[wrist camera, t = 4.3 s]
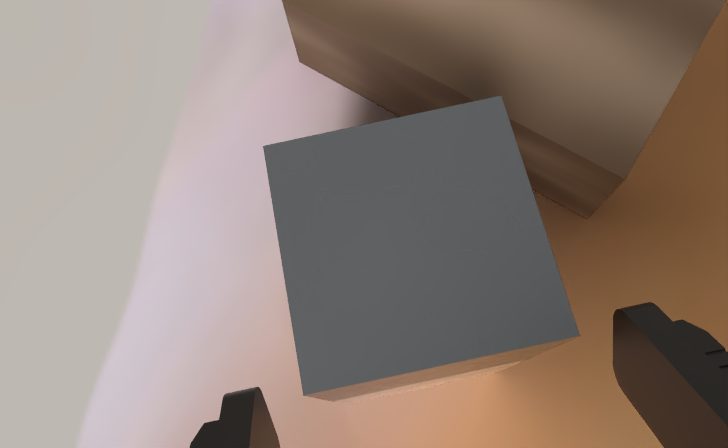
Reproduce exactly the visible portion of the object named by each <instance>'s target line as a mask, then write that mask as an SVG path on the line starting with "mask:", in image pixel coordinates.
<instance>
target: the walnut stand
mask: <svg viewBox="0 0 728 448" xmlns="http://www.w3.org/2000/svg"><path fill="white" fill-rule="evenodd" d="M725 1H726V0H282V2H283V6H284V9H285V13H286V16H287V20H288V23H289V27H290V30H291V34H292V37H293V41H294V44H295V48H296V51H297V55H298V58H299V62H301V63H303V64H305V65H306V66H308V67H310V68H312V69H314V70H316V71H317V72H319V73H321V74H323V75H325V76H327V77H328V78H330V79H332V80H334V81H336V82H337V83H339V84H341V85H343V86H345V87H347V88H348V89H350V90H352V91H354V92H356V93H358V94H359V95H361V96H363V97H365V98H367V99H369V100H370V101H372V102H374V103H376V104H378V105H379V106H381V107H383V108H385V109H387V110H389V111H390V112H392V113H394V114H396V115H398V116H400V117H403V116H407V115H412V114H417V113H422V112H426V111H431V110H436V109H441V108H445V107H450V106H455V105H459V104H464V103H469V102H474V101H478V100H483V99H488V98H492V97H497V96H501V97H502V100H503V103H504V106H505V109H506V112H507V115H508V118H509V121H510V124H511V127H512V130H513V133H514V136H515V139H516V142H517V145H518V148H519V151H520V155H521V158H522V161H523V164H524V167H525V170H526V173H527V176H528V179H529V182H530V185H531V188H532V189H533V190H535V191H537V192H538V193H540V194H542V195H544V196H546V197H547V198H549V199H551V200H553V201H555V202H557V203H558V204H560V205H562V206H564V207H566V208H568V209H569V210H571V211H573V212H575V213H577V214H578V215H580V216H582V217H584V218H586V219H587V218H588V217H589V216H590V215H591V214H592V213H593V212H594V211H595V210H596V209H597V208H598V207H599V206H600V205H601V204H602V203H603V202H604V201H605V200H606V199H607V198H608V196H609V195H610V194H611V193H612V192H613V191H614V190H615V189H616V188H617V187H618V186H619V185H620V184H621V183H622V182H623V181H624V180H625V178H626V177H627V175H628V173H629V171H630V169H631V168H632V166H633V164H634V162H635V161H636V159H637V157H638V155H639V154H640V152H641V150H642V148H643V146H644V145H645V143H646V141H647V139H648V138H649V136H650V134H651V132H652V131H653V129H654V127H655V125H656V123H657V122H658V120H659V118H660V116H661V115H662V113H663V111H664V109H665V108H666V106H667V104H668V102H669V100H670V99H671V97H672V95H673V93H674V92H675V90H676V88H677V86H678V85H679V83H680V81H681V79H682V77H683V76H684V74H685V72H686V70H687V69H688V67H689V65H690V63H691V61H692V60H693V58H694V56H695V54H696V53H697V51H698V49H699V47H700V46H701V44H702V42H703V40H704V38H705V37H706V35H707V33H708V31H709V30H710V28H711V26H712V24H713V23H714V21H715V19H716V17H717V15H718V14H719V12H720V10H721V8H722V7H723V5H724V3H725Z"/></svg>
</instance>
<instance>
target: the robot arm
mask: <svg viewBox="0 0 728 448" xmlns="http://www.w3.org/2000/svg"><path fill="white" fill-rule="evenodd" d="M613 368H614V372H615V376H616V379H617V381H618V383H619V386H620V387H621V389H622V391H623V392H624V394H625V395H626V396H627V398H628V399H629V400H630V402H631V403H632V405H633V406H634V407H635V409H636V410H637V411H638V413H639V414H640V415H641V417H642V418H643V419H644V421H645V422H646V424H647V425H648V426H649V428H650V429H651V430H652V432H653V433H654V434H655V436H656V437H657V438H658V440H659V441H660V442H661V444H662V445H663V447H664V448H728V352H726V350H725V348H724V347H723V346H722V345H721V344H720V343H719V342H718V341H717V340H716V339H714V338H713V337H712V336H711V335H710V334H709V333H708V332H707V331H705V330H703V329H701V328H699V327H696V326H694V325H692V324H690V323H688V322H686V321H684V320H678V321H674V322H673V321H672V320H671V319H670V318H669V317H668V316H667V315H666V314H665V313H664V312H663V311H662V310H661V309H660V308H658V307H657V306H656V305H655V304H654V303H651V302H648V303H644V304H639V305H635V306H630V307H626V308H621V309H617V310H616V311H615V312H614V316H613ZM190 448H280V445H279V440H278V436H277V433H276V431H275V428H274V425H273V422H272V419H271V416H270V414H269V411H268V408H267V405H266V402H265V400H264V397H263V394H262V392H261V390H260V388H259V387H255V388H250V389H246V390H241V391H236V392H232V393H227V394H225V395H224V397H223V401H222V407H221V412H220V418H219V420H217V421H212V422H207V423H204V424H203V426H202V427H201V429H200V430H199V432H198V433H197V435H196V436H195V438H194V439H193V441H192V442H191V444H190Z"/></svg>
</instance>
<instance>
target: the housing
mask: <svg viewBox="0 0 728 448" xmlns="http://www.w3.org/2000/svg"><path fill="white" fill-rule="evenodd" d="M263 148H264V154H265V160H266V167H267V173H268V179H269V185H270V191H271V198H272V204H273V210H274V216H275V222H276V229H277V235H278V241H279V247H280V253H281V259H282V266H283V272H284V278H285V284H286V290H287V297H288V303H289V309H290V315H291V321H292V328H293V334H294V340H295V346H296V352H297V359H298V365H299V371H300V377H301V383H302V389H303V396H308V397H313V398H318V399H323V400H328V401H333V402H338V403H343V404H353V403H357V402H362V401H366V400H371V399H376V398H380V397H385V396H390V395H394V394H399V393H404V392H408V391H413V390H417V389H422V388H427V387H431V386H436V385H441V384H445V383H450V382H454V381H459V380H464V379H468V378H473V377H478V376H482V375H487V374H491V373H496V372H499V371H501V370H504V369H506V368H508V367H511V366H513V365H515V364H517V363H520V362H522V361H524V360H526V359H529V358H531V357H533V356H535V355H538V354H540V353H542V352H545V351H547V350H549V349H551V348H554V347H556V346H558V345H560V344H563V343H565V342H567V341H569V340H572V339H574V338H576V337H579V336H580V335H579V332H578V329H577V326H576V322H575V319H574V316H573V313H572V310H571V307H570V304H569V301H568V298H567V295H566V292H565V289H564V286H563V283H562V280H561V277H560V274H559V271H558V268H557V264H556V261H555V258H554V255H553V252H552V249H551V246H550V243H549V240H548V237H547V234H546V231H545V228H544V225H543V222H542V219H541V216H540V213H539V210H538V206H537V203H536V200H535V197H534V194H533V191H532V188H531V185H530V182H529V179H528V176H527V173H526V170H525V167H524V164H523V161H522V158H521V155H520V151H519V148H518V145H517V142H516V139H515V136H514V133H513V130H512V127H511V124H510V121H509V118H508V115H507V112H506V109H505V106H504V103H503V100H502V97H501V96H497V97H492V98H488V99H483V100H478V101H474V102H469V103H464V104H459V105H455V106H450V107H445V108H441V109H436V110H431V111H426V112H422V113H417V114H412V115H407V116H403V117H398V118H393V119H389V120H384V121H379V122H374V123H370V124H365V125H360V126H356V127H351V128H346V129H341V130H337V131H332V132H327V133H323V134H318V135H313V136H308V137H304V138H299V139H294V140H290V141H285V142H280V143H275V144H271V145H266V146H263Z"/></svg>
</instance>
